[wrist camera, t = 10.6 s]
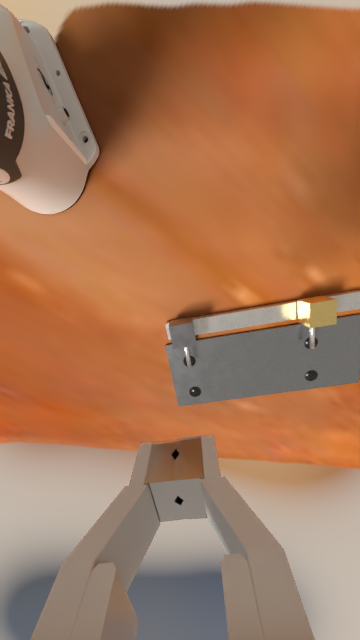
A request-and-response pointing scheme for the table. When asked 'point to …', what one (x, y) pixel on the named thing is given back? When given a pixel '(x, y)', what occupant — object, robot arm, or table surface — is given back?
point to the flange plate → (267, 362)
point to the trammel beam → (244, 319)
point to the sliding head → (317, 314)
